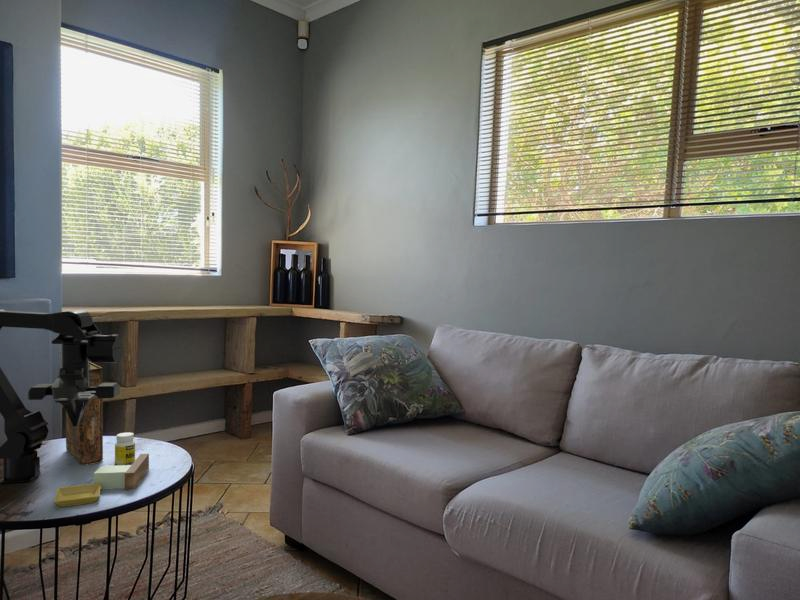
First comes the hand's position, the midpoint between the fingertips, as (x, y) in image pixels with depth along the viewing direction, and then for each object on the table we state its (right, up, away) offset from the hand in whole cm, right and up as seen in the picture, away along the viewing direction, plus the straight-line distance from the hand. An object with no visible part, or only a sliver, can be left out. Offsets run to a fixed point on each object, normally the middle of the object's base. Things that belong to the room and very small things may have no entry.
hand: (75, 426), depth 137 cm
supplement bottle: (+7, -13, +10) cm, 18 cm away
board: (+14, -13, +1) cm, 20 cm away
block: (+10, -14, -2) cm, 17 cm away
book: (-8, -12, +18) cm, 23 cm away
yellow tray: (+7, -14, -11) cm, 19 cm away
